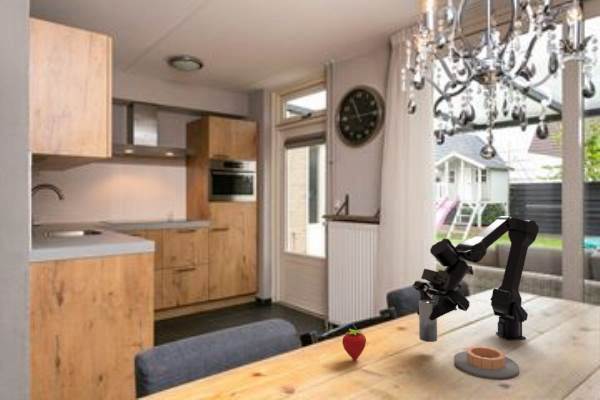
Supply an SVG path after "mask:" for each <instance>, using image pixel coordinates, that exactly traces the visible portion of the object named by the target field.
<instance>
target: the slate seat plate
mask: <svg viewBox="0 0 600 400" xmlns="http://www.w3.org/2000/svg"><path fill="white" fill-rule="evenodd" d="M453 363H454V365H455V366H456V367H457V368H458V369H460V370H461V371H463V372H465V373H468V374H469V375H472V376H477V377H482V378H484V379H485V378H486V379H492V380H493V379H494V380H495V379H496V380H505V379H512V378H514V377H517V376H518V375H519V374H520V366H519V364H518V363H517V362H516V361H515V360H513V359H512V358H509V357H507V356H506V355H505V353H504V352H502V351H501V350H499V349H496V348H493V347H489V346H482V345H481V346H479V345H477V346H475V345H474V346H470V347H468V348H466V350H465V351H460V352H458V353H456V354H454V356H453Z"/></svg>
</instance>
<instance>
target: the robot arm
mask: <svg viewBox="0 0 600 400" xmlns="http://www.w3.org/2000/svg"><path fill="white" fill-rule="evenodd" d="M539 230H540V229H539V226H538V224H537V222H536V221H535V220H532V219H521V218H516V217H513V216H508V215H505V216H504V215H500V216H497V218H496V219H495V221H493V222H492V223H491V224H490V225H488V226H487V227H486V228H484V230H482V231H481V232H480V233H479V234H477V235H476V236H474V237H472V238H469V239H465V240H463V241H462V242H459V243H458V244H456V246H454V245H453V244H452V241H451V240H450V239H449V238H444V237H443V238H442V240H440V241H437V242H436V243H435V244H432V245H431V247H430V249H429V250H430V252H429V253H430V254H431V255H432V256H433V257H434V258H435V260H436V261H437V262H438V263H439V264H440V265H441V266H442V267H445V268H444V270H442V269H439V270H438V271H436V270H432V269H428V268H424V269H423V271H422V274H421V277H420V279H422V280H424V281H422V280H415V282H414V283H413V284H412V287H413V288H414V290H415V291H416V292H417V293H418V294H419V296H420V299H419V301H420V300H433V298H434V297H437V298H438V302H437V305H436V307H435V309H434V310H433V312H432V314H431V316H430V318H429V319H430V320H431V321H433V320H435V319H436V318H437V319H438V318H440V317H442V316H444V315H447V314H449V313H451V312H454V311H458V310H461V311H463V312H467V311H468V309H469V308H470V307H471V306H470V305H471V304H470V301H469V300H468V299H467V297H466V295H464V294H463V292H462V291H458V290H457V289H459V290H460V289H461V288H462V285H461V283H462V281H463V279H464V278H465V276H466V275H470V276H474V270H473V266H472V265H470V264H468V263H472V264H478V263H479V262H481V261H482V260H483V259H484V257H485V256H486V255H487V250H488V248H489V247H491V246H492V245H493V244H494V243H495V242H497V241H498V240H499V239H500V238H501V237H503V236H504V235H505V234H507V236H508V238H509V241H510V248H509V251H508V255H507V260H506V265H505V269H504V273H503V278H502V281H501V282H502V283H501V285H500V286H498V287H497V288H496V287H495V288H493V289H492V295H491V298H490V306H491V307H492V311H493V314H494V316H496V317H498V321H497V331H495V335H498V336H499V337H501V338H503V339H505V340H506V341H507V340H508V341H513V340H514V341H515V340H526V339H527V338H526V336H524V335H523V323H524V322H525V321H527V320H528V316H529V314H528V312H527V311H526V310H525V309H524V308H523V306H522V301H523V300H522V296H521V293H520V291H519V288H520V284H521V279H522V275H523V270H524V267H525V262H526V257H527V253H528V249H529V247H530V246H531V245H533V244H534V242H535V241H536V239H537V237H538V233H539ZM467 262H468V263H467ZM426 281H428V282H429V284H428V283H427V282H426ZM416 314H417V315H418V316H419V306H418V307H417V312H416Z"/></svg>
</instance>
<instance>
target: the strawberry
mask: <svg viewBox="0 0 600 400" xmlns="http://www.w3.org/2000/svg"><path fill="white" fill-rule="evenodd" d="M353 327H354V328H355V329H351V328H349V329H348V331H347V332H345V335H343V337H342V347H343V349H344V351H346V353H347V354H348V356H349V357H350V358H351V360H353V361H357V360H358V359H359V358H360V356H361V354H362V352H364V349H365V348H366V344H367V338H366V336H365V334H364V333H363V330H362V329H361V330H359V329H358V330H357V327H356V326H355V325H353Z"/></svg>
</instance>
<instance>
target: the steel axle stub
mask: <svg viewBox="0 0 600 400" xmlns="http://www.w3.org/2000/svg"><path fill="white" fill-rule="evenodd" d="M437 304H438V302H437V301H435V300H433V299H432V300H420V299H419V300H418V307H419V315H418V324H419V325H418V326H419V327H418V328H419V329H418V330H419V333H418V334H419V335H418V336H419V340H421V341H423V342H427V343H435V342H437V341H438V318H436V319H435V320H433V321H431V320H430V319H429V318H430V316H431V314H432V312H433V310H434V309H435V307H436V305H437Z"/></svg>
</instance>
